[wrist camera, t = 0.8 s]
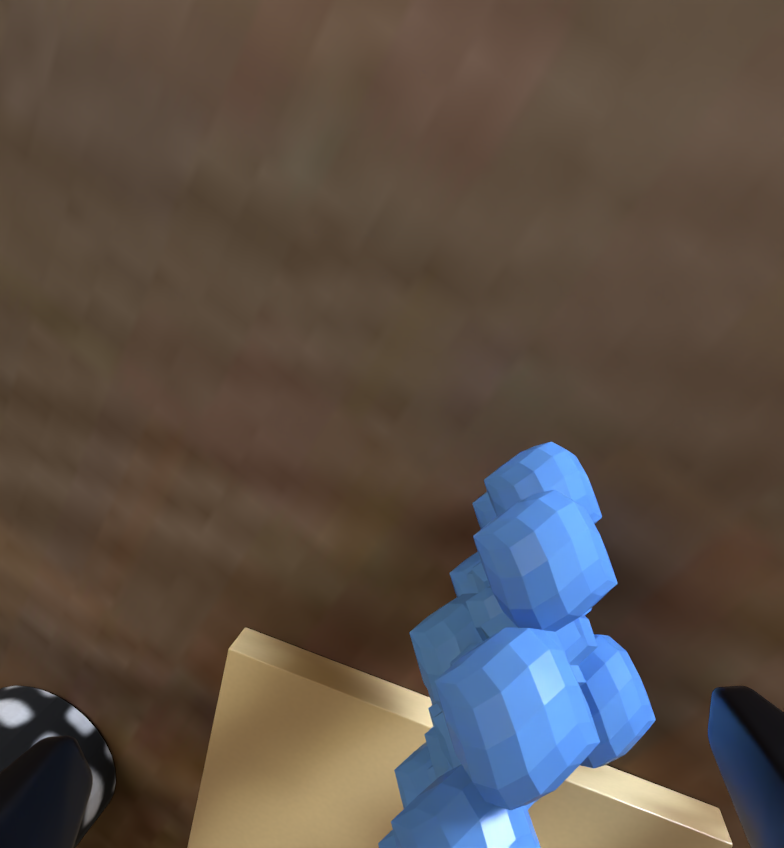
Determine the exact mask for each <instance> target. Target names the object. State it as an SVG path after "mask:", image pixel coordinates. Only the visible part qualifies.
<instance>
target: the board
mask: <svg viewBox="0 0 784 848" xmlns="http://www.w3.org/2000/svg"><path fill="white" fill-rule="evenodd" d="M430 706H432V702H431V699H430V698H429V697H427V696H424V695H421V694H419V693H416V692H414V691H411V690H408V689H406V688H403V687H400V686H398V685H395V684H393V683H390V682H387V681H385V680H382V679H380V678H377V677H374V676H372V675H369V674H366V673H364V672H361V671H359V670H356V669H353V668H351V667H348V666H346V665H343V664H340V663H338V662H335V661H333V660H330V659H327V658H325V657H322V656H319V655H317V654H314V653H312V652H309V651H306V650H304V649H301V648H299V647H296V646H293V645H291V644H288V643H285V642H283V641H280V640H278V639H275V638H272V637H270V636H267V635H265V634H262V633H259V632H257V631H254V630H251V629H249V628H246V627H245V628H244V629H243V631H242V632H241V633H240V635H239V636H238V637H237V638H236V640H235V641H234V642H233V644H232V645H231V646H230V648H229V650H228V654H227V659H226V664H225V669H224V674H223V679H222V683H221V688H220V693H219V698H218V703H217V707H216V712H215V717H214V722H213V727H212V732H211V736H210V741H209V746H208V751H207V756H206V760H205V765H204V770H203V775H202V780H201V785H200V789H199V794H198V799H197V804H196V809H195V813H194V818H193V823H192V828H191V833H190V837H189V842H188V847H187V848H379V845H378V843H379V842H380V841H381V840H382V839H383V838H384V837H385V836H386V835H387V834H388V833H389V832H390V831H391V830H393V829H392V824H391V821H392V820H393V819H394V818H395V817H396V816H397V815H398V814H399V813H400V812H401V811H402V810H403V809H404V808H403V804H402V800H401V796H400V792H399V788H398V783H397V779H396V775H395V771H394V770H395V769H396V768H397V767H398V766H399V765H400V764H401V763H402V762H403V761H404V760H406V759H407V758H408V757H409V756H410V755H411V754H412V753H413V752H414V751H416V750H417V749H418V748H419V747H420V746H422V745H423V744H424V743H425V742H426V739H425V735H424V734H426V733H427V732H428V731H429V730H430V729H431V728H432V727H433V724H432V720H431V716H430V713H429V709H428V708H429V707H430ZM528 812H529V815H530V818H531V821H532V824H533V827H534V829H535V832H536V835H537V838H538V841H539V844H540V846H541V848H731V847H732V845H733V844H732V841H731V839H730V836H729V833H728V831H727V828H726V825H725V823H724V820H723V817H722V815H721V812H720V809H719V808H717V807H714V806H712V805H709V804H706V803H704V802H701V801H699V800H696V799H693V798H691V797H688V796H685V795H683V794H680V793H678V792H675V791H672V790H670V789H667V788H665V787H662V786H659V785H657V784H654V783H651V782H649V781H646V780H644V779H641V778H638V777H636V776H633V775H631V774H628V773H625V772H623V771H620V770H617V769H615V768H612V767H610V766H607V765H604V766H601V767H598V768H589V767H585V766H581V765H579V766H578V767H577V768H576V769H575V770H574V772H573V773H572V774H571V775H570V776H569V777H568V778H567V779H566V780H565V781H564V782H563V783H562V784H561V785H560V786H559V787H558V788H557V789H556V790H555V791H553V792H551V793H549V794H547V795H545V796H543V797H541V798H540V799H539V800H538V801H537V802H535V803H534V804H533V805H532V806H531V807H530V808H529V809H528Z"/></svg>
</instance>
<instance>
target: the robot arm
mask: <svg viewBox="0 0 784 848" xmlns="http://www.w3.org/2000/svg"><path fill="white" fill-rule="evenodd" d="M708 738H709V743H710V746H711V749H712V752H713V755H714V757H715V760H716V762H717V765H718V767H719V770H720V772H721V775H722V777H723V780H724V782H725V785H726V787H727V789H728V792H729V794H730V797H731V799H732V802H733V804H734V807H735V809H736V812H737V814H738V817H739V819H740V822H741V824H742V827H743V829H744V832H745V834H746V837H747V839H748V842H749V844H750V847H751V848H784V712H782V711H781V710H780V709H778V708H777V707H776V706H774V705H773V704H772V703H770V702H769V701H767V700H766V699H765V698H763V697H762V696H761V695H759V694H758V693H757V692H755V691H754V690H752V689H750V688H748V687H746V686H730V687H718V688H716V689H715V690H714V691H713V692H712V696H711V706H710V715H709V724H708ZM92 785H93V776H92V771H91V769H90V767H89V765H88V763H87V761H86V759H85V757H84V754H83V752H82V750H81V748H80V746H79V744H78V742H77V741H76V739H75V738H74V737H72V736H55V737H47V738H44V739H41V740H40V741H38V742H37V743H36V744H34V745H33V746H32V747H31V748H29V749H28V750H27V751H26V752H25V753H23V754H22V755H21V756H20V757H19V758H17V759H16V760H15V761H14V762H13V763H11V764H10V765H9V766H8V767H6V768H5V769H4V770H3V771H2V772H0V848H73V846H74V843H75V840H76V837H77V834H78V831H79V828H80V825H81V822H82V819H83V816H84V813H85V809H86V806H87V803H88V800H89V797H90V794H91V790H92Z"/></svg>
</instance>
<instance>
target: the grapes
mask: <svg viewBox="0 0 784 848" xmlns="http://www.w3.org/2000/svg"><path fill="white" fill-rule="evenodd" d="M484 483H485V486H486V489H487V492H486V493H485V494H483V495H482V496H481V497H480V498H478V499H477V500H476V501H475V502H473V503H472V504H473V507H474V510H475V513H476V517H477V520H478V523H479V526H480V528H481V530H480V531H479V532H477V533H476V534H475V535H474V536H473V537H474V541H475V544H476V547H477V551H478V552H476V553H475V554H473V555H472V556H470V557H469V558H467V559H466V560H464V561H463V562H462V563H461V564H460V565H458V566H457V567H456V568H455V569H454V570H452V571H451V572H450V576H451V579H452V583H453V586H454V590H455V593H456V596H457V598H455V599H454V600H452V601H451V602H449V603H447V604H446V605H444V606H443V607H441V608H440V609H438V610H437V611H435V612H434V613H432V614H431V615H429V616H428V617H427V618H426V619H424V620H423V621H422V622H421V623H420V624H418V625H417V626H416V627H415V628H414V629H413V630H411V631H410V632H409V633H410V636H411V640H412V643H413V647H414V651H415V654H416V658H417V661H418V665H419V668H420V672H421V675H422V679H423V682H424V684H425V686H426V687H427V689H428V692H429V695H430V699H431V702H432V706H430V707H429V708H428V709H429V713H430V716H431V720H432V724H433V727H432V728H431V729H430V730H429V731H428V732H427V733H426V734H424V735H425V739H426V742H425V743H424V744H423V745H422V746H420V747H419V748H418V749H417V750H416V751H414V752H413V753H412V754H411V755H410V756H409V757H408V758H407V759H406V760H404V761H403V762H402V763H401V764H400V765H399V766H398V767H397V768H396V769H395V770H394V771H395V775H396V779H397V783H398V788H399V792H400V796H401V800H402V804H403V808H404V809H403V810H402V811H401V812H400V813H399V814H398V815H397V816H396V817H395V818H394V819H393V820H392V821H391V824H392V829H393V830H391V831H390V832H389V833H388V834H387V835H386V836H385V837H384V838H383V839H382V840H381V841H380V842H379V843H378V845H379V848H541V846H540V844H539V841H538V838H537V835H536V832H535V829H534V827H533V824H532V821H531V818H530V815H529V812H528V809H529V808H530V807H531V806H532V805H533V804H534V803H535V802H537V801H538V800H539V799H540V798H541V797H543V796H545V795H547V794H549V793H551V792H553V791H555V790H556V789H557V788H558V787H559V786H560V785H561V784H562V783H563V782H564V781H565V780H566V779H567V778H568V777H569V776H570V775H571V774H572V773H573V772H574V770H575V769H576V768H577V767H578V766H579V765H581V766H585V767H589V768H598V767H601V766H604V765H606V764H608V763H610V762H612V761H614V760H616V759H617V758H619V757H621V756H623V755H625V754H626V753H627V752H628V751H629V750H630V749H631V748H632V747H633V746H634V745H635V744H636V743H637V742H638V740H639V739H640V738H641V737H642V736H643V735H644V734H645V733H646V731H647V730H648V729H649V728H650V727H651V725H652V724H653V723H654V722H655V720H656V719H655V716H654V713H653V710H652V707H651V704H650V701H649V698H648V695H647V693H646V690H645V688H644V685H643V683H642V680H641V678H640V676H639V674H638V672H637V670H636V668H635V666H634V664H633V663H632V661H631V659H630V657H629V655H628V653H627V651H626V650H625V649H623V648H622V647H621V646H620V645H619V644H618V643H617V642H615V641H614V640H613V639H612V638H611V637H610V636H607V635H598V634H593V631H592V628H591V625H590V622H589V619H588V618H587V617H586V616H585V615H586V614H587V613H588V612H590V611H591V610H592V608H591V607H593V606H594V605H595V604H596V603H597V602H598V601H599V600H601V599H602V598H603V597H604V596H605V595H606V594H607V593H608V592H609V591H610V590H611V589H612V588H613V587H614V586H615V585H616V584H618V583H617V580H616V577H615V574H614V571H613V568H612V565H611V562H610V560H609V557H608V554H607V551H606V549H605V546H604V544H603V541H602V539H601V536H600V534H599V532H598V530H597V528H596V526H595V525H594V524H595V523H596V522H597V521H599V520H600V519H601V518H602V515H601V512H600V509H599V506H598V503H597V500H596V497H595V494H594V492H593V489H592V487H591V484H590V481H589V479H588V476H587V474H586V473H585V471H584V469H583V468H582V466H581V464H580V463H579V461H578V459H577V457H576V456H575V455H573V454H572V453H571V452H569V451H568V450H566V449H564V448H562V447H560V446H559V445H557V444H555V443H553V442H548V443H545V444H541V445H538V446H534V447H532V448H529V449H527V450H525V451H523V452H520V453H519V454H517V455H516V456H515V457H513V458H512V459H510V460H509V461H508V462H506V463H505V464H503V465H502V466H501V467H499V468H498V469H497V470H496V471H494V472H493V473H492V474H491V475H489V476H488V477H487V478H486V479H484Z"/></svg>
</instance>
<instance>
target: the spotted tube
mask: <svg viewBox="0 0 784 848" xmlns="http://www.w3.org/2000/svg"><path fill="white" fill-rule="evenodd" d="M55 736H72V737H74V738H75V739H76V741H77V742H78V744H79V746H80V748H81V750H82V752H83V754H84V757H85V759H86V761H87V763H88V765H89V767H90V769H91V771H92V776H93V785H92V790H91V794H90V797H89V800H88V803H87V806H86V809H85V813H84V816H83V819H82V822H81V825H80V828H79V831H78V834H77V837H76V840H75V843H74V846H73V848H75V847H76V846H77V845H78V843H79V842H80V841H81V839H82V838H83V837H84V835H85V834H86V833H87V831H88V830H89V829H90V828H91V826H92V825H93V824H94V822H95V821H96V820H97V818H98V817H99V816H100V814H101V813H102V812H103V811H104V809H105V808H106V807H107V805H108V804H109V803H110V800H111V798H112V796H113V794H114V790H115V784H116V775H115V767H114V763H113V759H112V756H111V753H110V751H109V749H108V747H107V745H106V743H105V741H104V739H103V738H102V737H101V735H100V734H99V732H98V731H97V729H96V728H95V727H94V726H93V725H92V723H91V722H90V721H89V720H88V719H87V718H86V717H85V716H84V715H83V714H82V713H81V712H79V711H78V710H77V709H76V708H75V707H73V706H72V705H71V704H69V703H67V702H66V701H64V700H63V699H61V698H59V697H58V696H55V695H53V694H51V693H49V692H46V691H44V690H40V689H36V688H33V687H27V686H11V687H5V688H2V689H0V772H2V771H3V770H4V769H5V768H6V767H8V766H9V765H10V764H11V763H13V762H14V761H15V760H16V759H17V758H19V757H20V756H21V755H22V754H23V753H25V752H26V751H27V750H28V749H29V748H31V747H32V746H33V745H34V744H36V743H37V742H38V741H40V740H41V739H44V738H47V737H55Z"/></svg>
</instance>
